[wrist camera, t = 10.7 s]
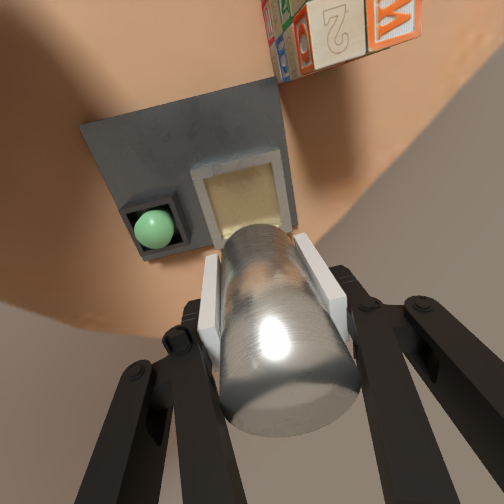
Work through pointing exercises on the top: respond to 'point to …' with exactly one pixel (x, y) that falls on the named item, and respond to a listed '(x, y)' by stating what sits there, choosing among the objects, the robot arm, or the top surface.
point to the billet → (278, 341)
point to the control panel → (199, 164)
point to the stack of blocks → (334, 32)
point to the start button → (155, 227)
